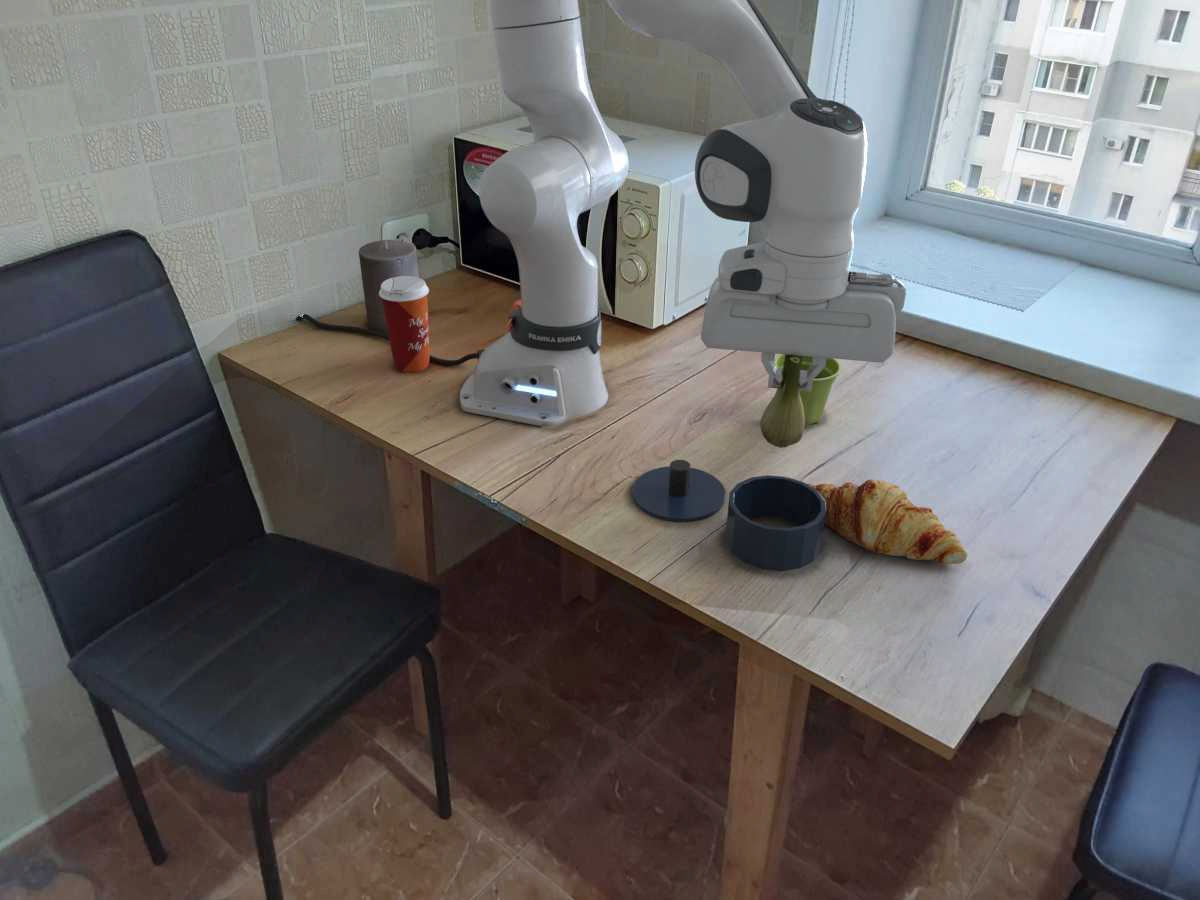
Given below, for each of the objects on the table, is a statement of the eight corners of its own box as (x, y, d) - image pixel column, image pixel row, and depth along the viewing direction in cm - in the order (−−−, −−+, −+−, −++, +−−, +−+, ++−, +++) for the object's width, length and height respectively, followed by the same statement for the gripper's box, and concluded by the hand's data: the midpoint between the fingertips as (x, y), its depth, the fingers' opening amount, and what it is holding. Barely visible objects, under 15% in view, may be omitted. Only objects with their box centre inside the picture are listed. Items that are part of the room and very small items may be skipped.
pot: (723, 569, 112) (726, 525, 109) (727, 513, 121) (731, 471, 118) (820, 578, 110) (827, 534, 107) (817, 522, 120) (824, 479, 116)
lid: (626, 520, 120) (626, 486, 117) (637, 469, 130) (638, 436, 127) (722, 530, 118) (725, 496, 116) (727, 477, 128) (729, 444, 126)
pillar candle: (356, 324, 169) (344, 242, 161) (399, 307, 176) (390, 228, 168) (392, 340, 164) (382, 256, 156) (435, 322, 170) (427, 240, 162)
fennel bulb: (789, 458, 107) (803, 361, 100) (749, 444, 109) (760, 349, 102) (810, 435, 111) (825, 341, 104) (771, 422, 113) (783, 330, 106)
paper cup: (427, 377, 152) (419, 294, 145) (381, 373, 153) (370, 291, 146) (442, 355, 159) (434, 275, 152) (397, 352, 160) (388, 272, 153)
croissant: (965, 579, 116) (989, 517, 114) (948, 587, 107) (974, 520, 106) (805, 514, 126) (826, 457, 125) (778, 517, 118) (799, 455, 116)
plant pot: (833, 436, 137) (841, 382, 133) (766, 429, 139) (772, 375, 134) (833, 404, 145) (840, 352, 141) (770, 398, 147) (775, 347, 142)
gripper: (906, 264, 100) (883, 382, 107) (709, 250, 102) (699, 366, 110) (913, 288, 95) (888, 410, 102) (704, 272, 97) (695, 392, 105)
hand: (788, 387), depth 106 cm, fingers closed on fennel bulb
